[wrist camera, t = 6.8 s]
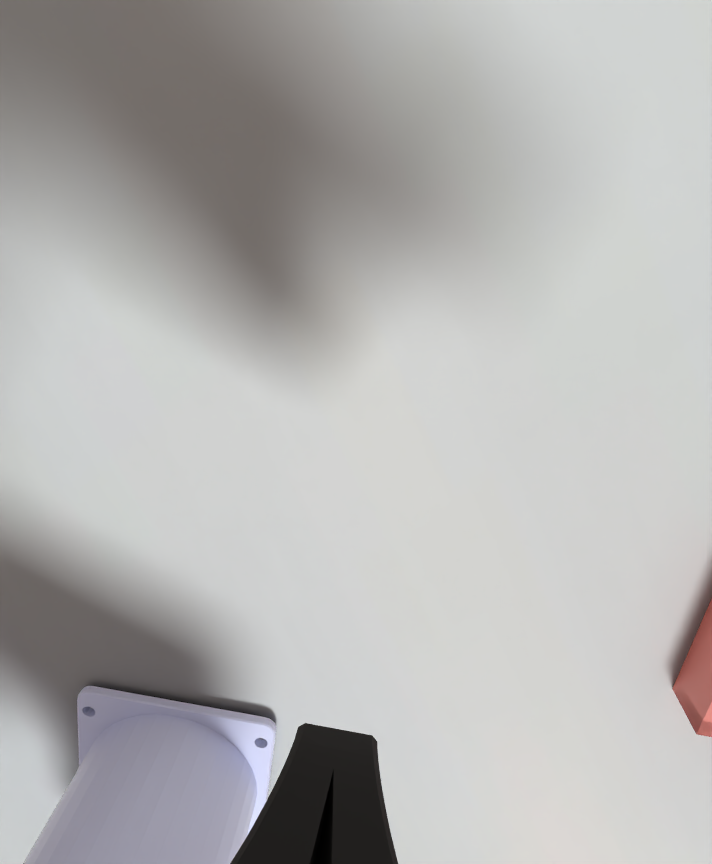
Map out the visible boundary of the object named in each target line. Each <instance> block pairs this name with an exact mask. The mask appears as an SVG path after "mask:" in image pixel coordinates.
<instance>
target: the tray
mask: <svg viewBox="0 0 712 864" xmlns="http://www.w3.org/2000/svg"><path fill="white" fill-rule="evenodd" d="M672 689H673V691H674V693H675V694H676V696H677V698H678V700H679V702H680V704H681V706H682V708H683V710H684V711H685V713H686V715H687V717H688V719H689V721H690V723H691V725H692V727H693V729H694V730H695V732H696V734H698V735H704V736H709V737H712V599H711V601H710V603H709V606H708V608H707V610H706V613H705V615H704V617H703V619H702V622H701V624H700V626H699V629H698V631H697V633H696V636H695V638H694V640H693V642H692V645H691V647H690V649H689V652H688V654H687V656H686V658H685V661H684V663H683V665H682V668H681V670H680V672H679V675H678V677H677V679H676V681H675V684H674V686H673V688H672Z"/></svg>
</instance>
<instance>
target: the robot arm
mask: <svg viewBox="0 0 712 864" xmlns="http://www.w3.org/2000/svg"><path fill="white" fill-rule="evenodd" d="M90 707H91V708H90ZM77 716H78V749H79V768H78V770H77V772H76V773H75V775H74V777H73V779H72V780H71V782H70V784H69V786H68V787H67V789H66V791H65V792H64V794H63V796H62V798H61V799H60V801H59V803H58V804H57V806H56V808H55V810H54V811H53V813H52V815H51V817H50V818H49V820H48V822H47V823H46V825H45V827H44V829H43V830H42V832H41V834H40V835H39V837H38V839H37V841H36V842H35V844H34V846H33V848H32V849H31V851H30V853H29V854H28V856H27V858H26V860H25V861H24V863H23V864H398V862H397V858H396V853H395V849H394V845H393V841H392V837H391V833H390V828H389V823H388V819H387V814H386V808H385V803H384V798H383V792H382V786H381V779H380V772H379V763H378V752H377V741H376V740H375V738H374V737H373V736H372V735H366V734H361V733H356V732H350V731H345V730H339V729H334V728H328V727H323V726H318V725H312V724H307V723H305V724H303V725H301V726H299V727H298V730H297V733H296V737H295V740H294V743H293V745H292V748H291V750H290V753H289V755H288V758H287V760H286V762H285V765H284V767H283V769H282V771H281V773H280V775H279V777H278V780H277V782H276V784H275V786H274V788H273V790H272V792H271V794H270V796H269V797H268V790H269V782H270V774H271V767H272V759H273V751H274V744H275V736H276V724H275V723H274V721H272V720H271V719H269V718H266V717H262V716H256V715H251V714H245V713H240V712H234V711H229V710H223V709H217V708H212V707H206V706H201V705H195V704H190V703H184V702H179V701H173V700H168V699H162V698H157V697H151V696H146V695H140V694H135V693H129V692H124V691H118V690H113V689H107V688H102V687H96V686H86V687H84V688H83V689H82V690H81V691H80V693H79V694H78V697H77ZM260 738H263V739H265V740H262V739H260ZM267 797H268V799H267Z"/></svg>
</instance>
